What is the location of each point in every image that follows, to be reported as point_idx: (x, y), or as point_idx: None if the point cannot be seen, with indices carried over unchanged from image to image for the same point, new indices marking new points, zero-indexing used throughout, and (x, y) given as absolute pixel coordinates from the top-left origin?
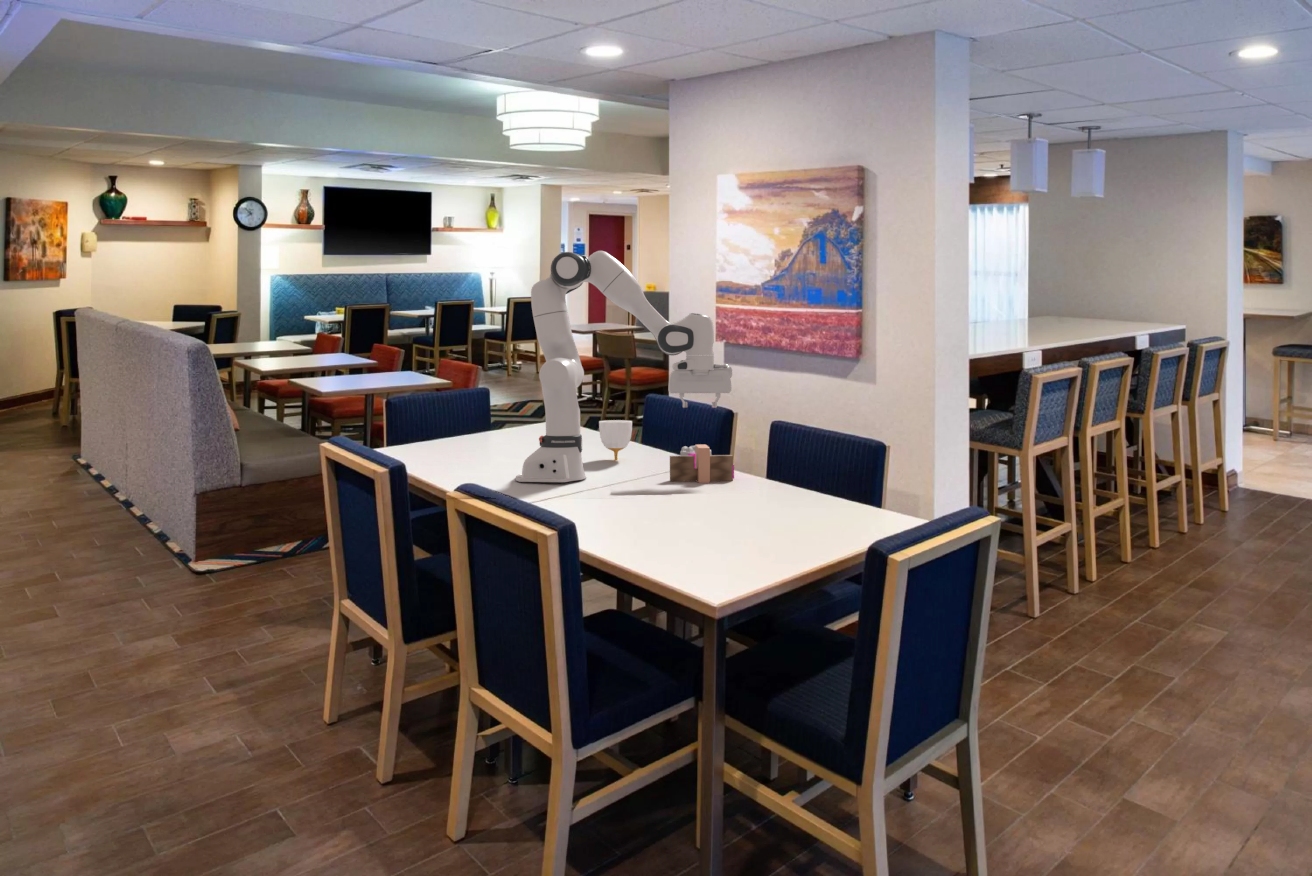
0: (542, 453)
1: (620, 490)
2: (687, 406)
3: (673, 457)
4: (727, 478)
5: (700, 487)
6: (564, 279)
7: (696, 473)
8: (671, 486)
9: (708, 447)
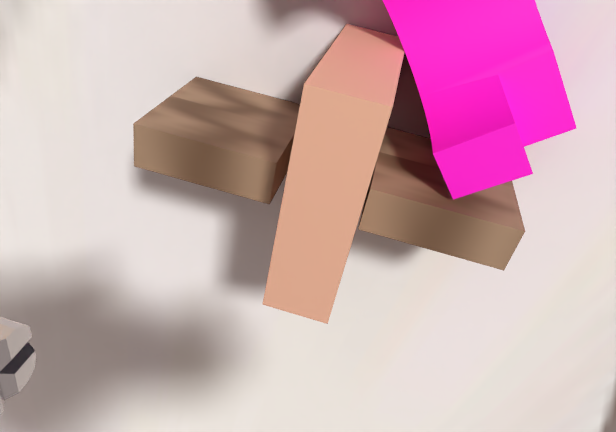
0: None
1: (15, 256)
2: (25, 381)
3: (154, 169)
4: None
5: None
6: None
7: None
8: (182, 241)
9: (328, 299)
